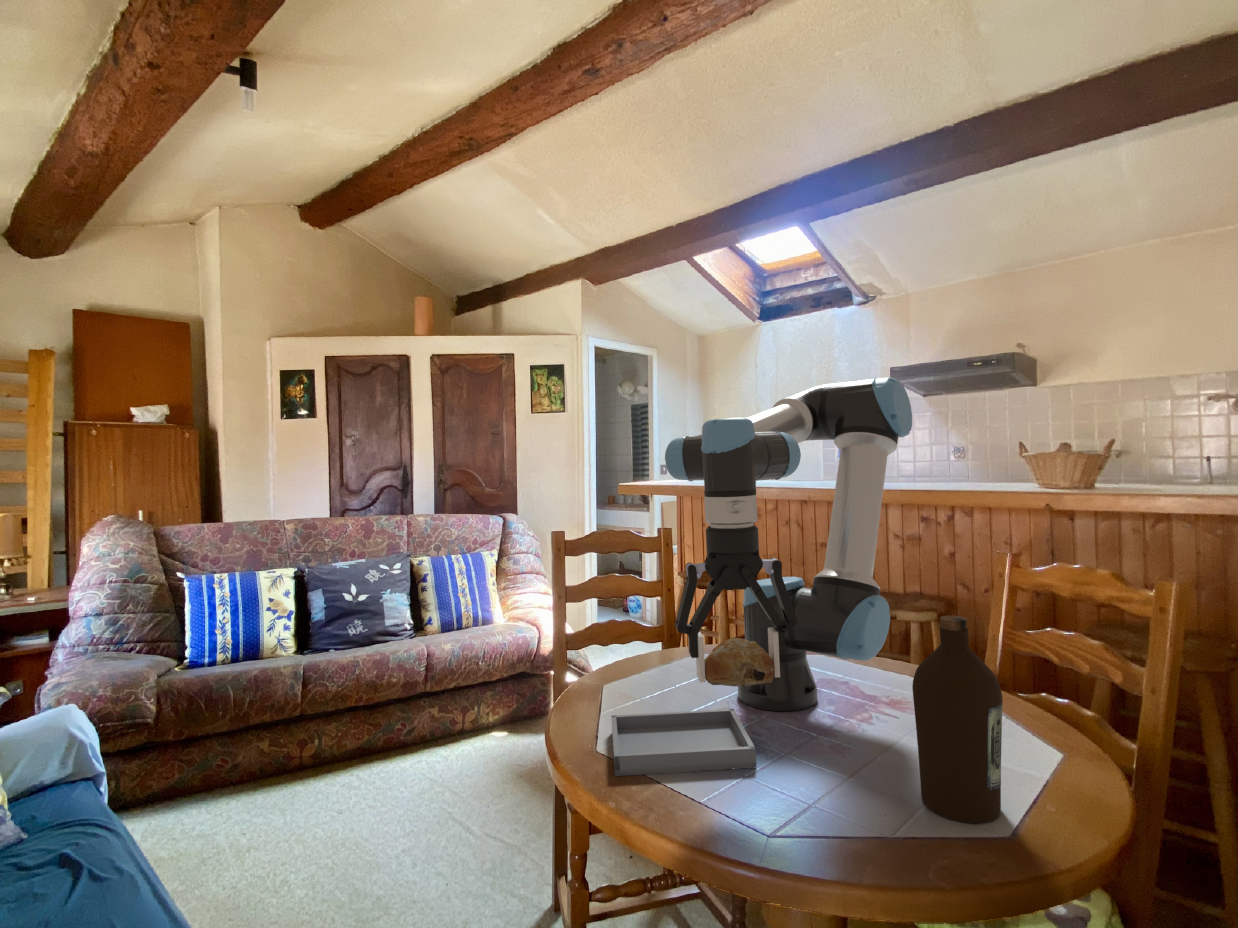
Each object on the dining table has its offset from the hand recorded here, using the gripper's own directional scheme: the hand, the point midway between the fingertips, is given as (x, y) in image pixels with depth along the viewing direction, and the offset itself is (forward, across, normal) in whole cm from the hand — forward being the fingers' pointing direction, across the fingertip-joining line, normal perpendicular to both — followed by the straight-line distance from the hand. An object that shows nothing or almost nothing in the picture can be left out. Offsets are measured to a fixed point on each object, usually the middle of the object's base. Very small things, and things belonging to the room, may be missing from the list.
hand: (738, 676), depth 94 cm
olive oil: (+16, +27, -10) cm, 33 cm away
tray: (+16, -8, +12) cm, 21 cm away
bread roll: (+1, 0, 0) cm, 1 cm away
